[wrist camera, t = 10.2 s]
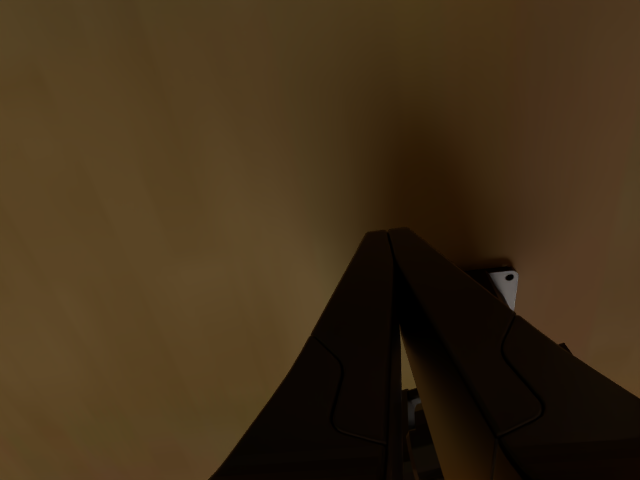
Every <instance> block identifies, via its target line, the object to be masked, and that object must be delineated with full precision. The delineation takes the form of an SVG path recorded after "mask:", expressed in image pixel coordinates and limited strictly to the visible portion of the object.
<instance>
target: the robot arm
mask: <svg viewBox="0 0 640 480" xmlns="http://www.w3.org/2000/svg"><path fill="white" fill-rule="evenodd" d="M509 274H511V275H510V276H507V275H509ZM506 276H507V277H506ZM517 283H518V273H517V271H516V270H515V269H514V268H513V267H500V268H491V269H482V270H473V271H462V270H461V269H460V268H459V267H457V266H456V265H455V264H453V263H452V262H451V261H450V260H448V259H447V258H446V257H445V256H443V255H442V254H441V253H440V252H438V251H437V250H436V249H435V248H433V247H432V246H431V245H429V244H428V243H427V242H426V241H424V240H423V239H422V238H421V237H419V236H418V235H417V234H416V233H414V232H413V231H412V230H410V229H409V228H407V227H403V228H395V229H389V230H388V232H386V231H385V230H379V231H371V232H367V233H366V234H365V236H364V238H363V240H362V241H361V243H360V245H359V247H358V249H357V250H356V252H355V254H354V256H353V258H352V260H351V261H350V263H349V265H348V267H347V269H346V271H345V272H344V274H343V276H342V278H341V280H340V282H339V283H338V285H337V287H336V289H335V291H334V293H333V294H332V296H331V298H330V300H329V302H328V303H327V305H326V307H325V309H324V311H323V313H322V314H321V316H320V318H319V320H318V322H317V324H316V325H315V327H314V329H313V331H312V333H311V336H310V337H309V338H308V340H307V341H306V343H305V345H304V347H303V349H302V351H301V352H300V354H299V356H298V357H297V359H296V361H295V362H294V364H293V366H292V367H291V369H290V371H289V372H288V374H287V375H286V377H285V378H284V380H283V381H282V383H281V384H280V386H279V387H278V388H277V390H276V391H275V393H274V394H273V396H272V397H271V398H270V400H269V401H268V402H267V404H266V405H265V407H264V408H263V409H262V411H261V412H260V413H259V415H258V416H257V417H256V419H255V420H254V422H253V423H252V424H251V426H250V427H249V428H248V430H247V431H246V432H245V434H244V435H243V437H242V438H241V439H240V441H239V442H238V443H237V445H236V446H235V447H234V449H233V450H232V451H231V453H230V454H229V456H228V457H227V458H226V460H225V461H224V462H223V463H222V465H221V466H220V467H219V468H218V469H217V471H216V472H215V473H214V474H213V475H212V476H211V477H210V478H209V479H208V480H640V399H639V398H638V397H636V396H635V395H633V394H632V393H630V392H629V391H627V390H625V389H624V388H622V387H621V386H619V385H618V384H616V383H615V382H613V381H611V380H610V379H608V378H607V377H605V376H604V375H602V374H601V373H599V372H597V371H596V370H594V369H593V368H591V367H590V366H588V365H587V364H585V363H584V362H582V361H581V360H579V359H578V358H576V357H575V356H574V355H573V354H572V353H571V352H570V350H569V349H568V348H567V346H566V345H565V343H561V344H556V343H555V342H554V341H552V340H551V339H550V338H548V337H547V336H545V335H544V334H543V333H541V332H540V331H539V330H537V329H536V328H535V327H534V326H532V325H531V324H530V323H528V322H527V321H526V320H525V319H523V318H522V317H521V316H519V315H517V316H516V313H515V312H514V306H515V298H516V291H517ZM399 326H400V327H399ZM400 331H401V336H402V340H403V343H404V347H405V350H406V354H407V357H408V360H409V363H410V367H411V370H412V373H413V377H414V380H415V383H416V387H417V388H414V389H411V390H408V389H405V390H402V386H401V343H400Z"/></svg>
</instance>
